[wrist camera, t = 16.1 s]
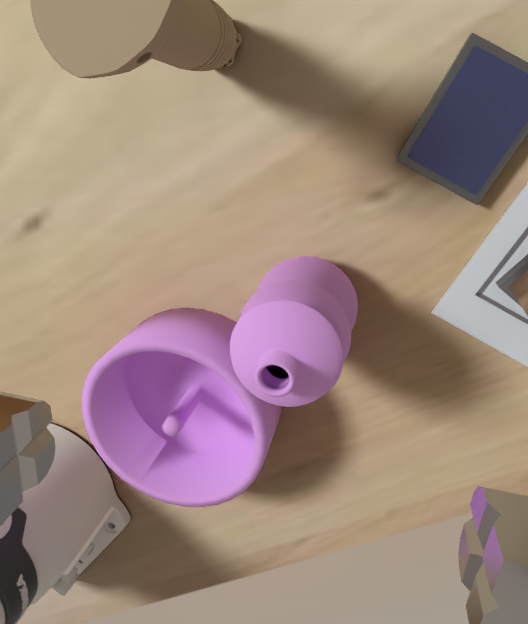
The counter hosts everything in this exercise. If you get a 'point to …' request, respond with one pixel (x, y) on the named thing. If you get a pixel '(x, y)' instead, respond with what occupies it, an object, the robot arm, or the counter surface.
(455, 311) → the card
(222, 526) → the counter surface
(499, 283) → the stamp
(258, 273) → the counter surface
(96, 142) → the counter surface
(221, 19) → the handle
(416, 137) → the ink tin
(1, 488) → the robot arm
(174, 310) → the container set
